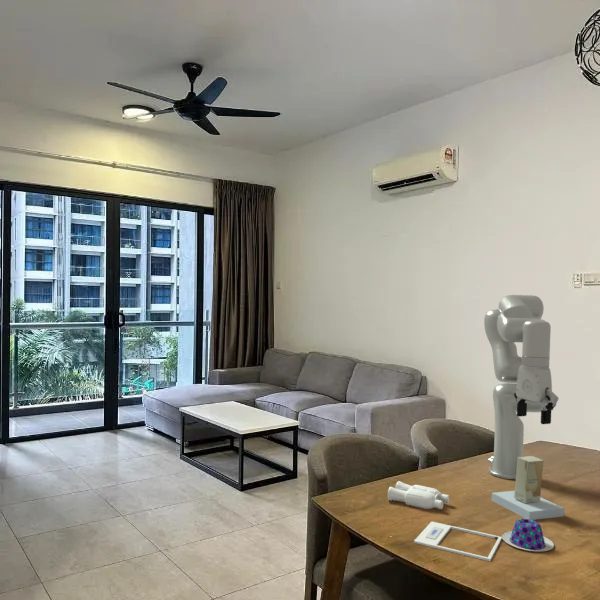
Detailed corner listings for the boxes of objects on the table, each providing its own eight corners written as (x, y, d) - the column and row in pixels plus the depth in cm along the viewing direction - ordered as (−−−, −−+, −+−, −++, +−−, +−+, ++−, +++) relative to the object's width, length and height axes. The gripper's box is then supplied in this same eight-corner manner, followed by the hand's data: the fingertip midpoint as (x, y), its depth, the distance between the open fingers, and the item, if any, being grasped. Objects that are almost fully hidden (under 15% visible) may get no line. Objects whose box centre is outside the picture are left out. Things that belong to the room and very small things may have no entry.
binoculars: (399, 493, 175) (400, 478, 175) (450, 504, 167) (451, 488, 167) (386, 502, 166) (386, 486, 167) (439, 515, 158) (439, 498, 158)
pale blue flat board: (491, 502, 170) (492, 492, 170) (524, 499, 174) (524, 489, 174) (529, 522, 155) (529, 511, 155) (563, 518, 159) (564, 508, 159)
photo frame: (431, 520, 151) (501, 536, 142) (431, 524, 151) (501, 540, 142) (414, 540, 138) (490, 558, 129) (413, 544, 138) (490, 563, 129)
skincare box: (525, 504, 161) (528, 461, 161) (513, 498, 165) (516, 457, 165) (541, 501, 164) (544, 459, 164) (529, 495, 168) (532, 455, 168)
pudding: (509, 529, 149) (510, 509, 149) (558, 542, 142) (559, 521, 142) (495, 545, 139) (496, 523, 139) (547, 559, 132) (548, 536, 132)
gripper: (505, 358, 174) (503, 414, 174) (547, 366, 158) (545, 427, 158) (524, 358, 177) (522, 412, 177) (568, 366, 160) (566, 426, 161)
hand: (533, 419), depth 168 cm, fingers open, 9 cm apart
